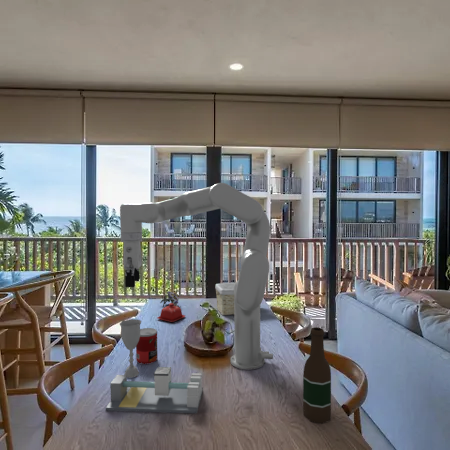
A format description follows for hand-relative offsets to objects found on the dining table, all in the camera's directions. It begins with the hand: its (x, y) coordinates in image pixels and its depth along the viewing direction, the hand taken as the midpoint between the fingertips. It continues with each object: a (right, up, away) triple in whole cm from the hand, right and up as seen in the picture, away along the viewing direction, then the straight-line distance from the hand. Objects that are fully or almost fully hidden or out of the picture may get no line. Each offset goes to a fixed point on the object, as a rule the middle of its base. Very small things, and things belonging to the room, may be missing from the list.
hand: (132, 283), depth 121 cm
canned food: (+4, -30, +4) cm, 30 cm away
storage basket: (+41, -27, +65) cm, 82 cm away
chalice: (+1, -30, -7) cm, 31 cm away
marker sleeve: (+15, -28, -23) cm, 39 cm away
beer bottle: (+59, -31, -31) cm, 73 cm away
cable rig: (+13, -31, -22) cm, 40 cm away
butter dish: (+6, -28, +52) cm, 59 cm away
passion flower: (+1, -27, +75) cm, 79 cm away
